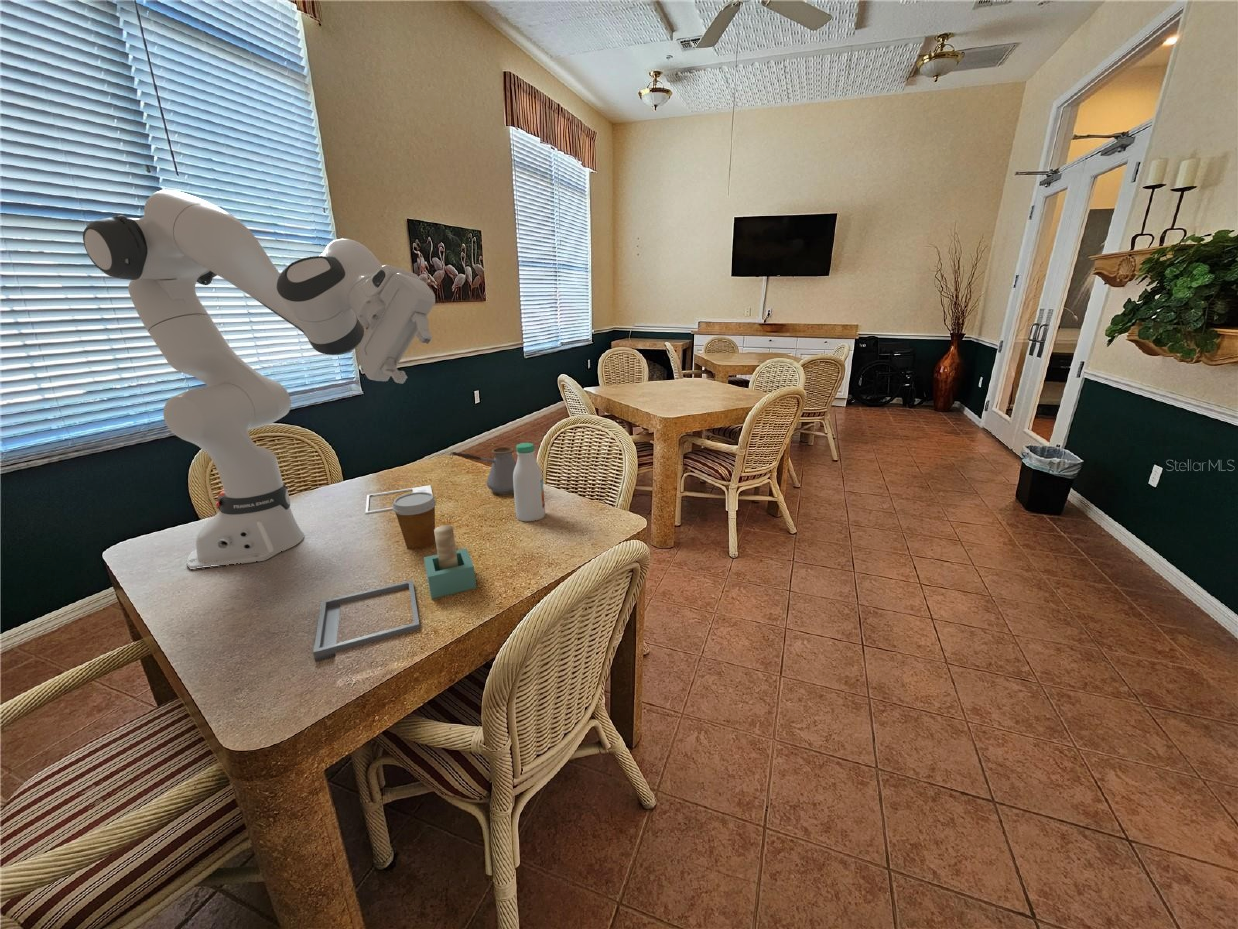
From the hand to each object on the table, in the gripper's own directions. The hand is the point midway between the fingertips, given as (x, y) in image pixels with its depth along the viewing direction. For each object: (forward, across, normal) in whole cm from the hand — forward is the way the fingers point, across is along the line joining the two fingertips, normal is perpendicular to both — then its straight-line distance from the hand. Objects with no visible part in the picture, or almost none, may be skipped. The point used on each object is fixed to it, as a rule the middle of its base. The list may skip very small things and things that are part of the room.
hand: (414, 360), depth 85 cm
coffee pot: (-2, -46, +52) cm, 69 cm away
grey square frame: (+28, -38, -3) cm, 48 cm away
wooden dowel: (+28, -33, +12) cm, 45 cm away
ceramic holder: (+28, -33, +12) cm, 45 cm away
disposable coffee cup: (+11, -45, +20) cm, 51 cm away
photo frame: (-14, -63, +35) cm, 73 cm away
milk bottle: (+16, -33, +45) cm, 58 cm away
